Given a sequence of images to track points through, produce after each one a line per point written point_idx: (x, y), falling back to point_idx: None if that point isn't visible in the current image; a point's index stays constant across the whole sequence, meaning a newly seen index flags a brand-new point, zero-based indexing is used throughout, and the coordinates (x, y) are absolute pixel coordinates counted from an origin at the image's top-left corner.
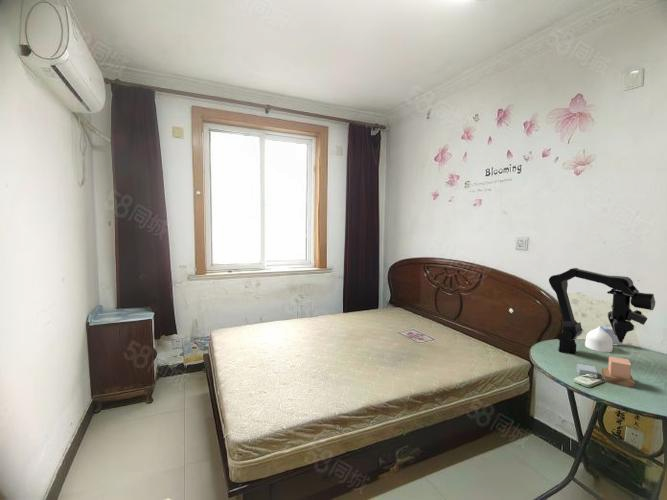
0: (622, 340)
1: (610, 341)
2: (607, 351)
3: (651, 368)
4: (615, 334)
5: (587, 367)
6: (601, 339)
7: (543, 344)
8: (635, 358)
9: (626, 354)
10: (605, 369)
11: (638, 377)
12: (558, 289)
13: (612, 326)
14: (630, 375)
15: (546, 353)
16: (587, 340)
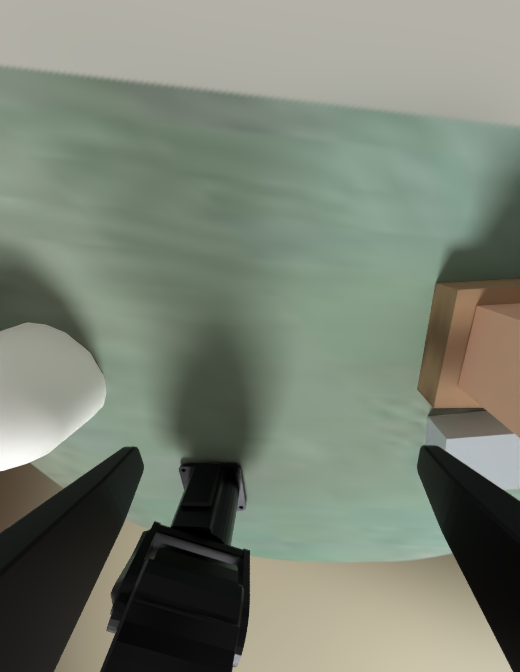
0: (466, 470)
1: (3, 363)
2: (81, 347)
3: (185, 148)
4: (138, 476)
5: (477, 462)
6: (34, 414)
7: None
8: (70, 223)
9: (40, 263)
10: (459, 396)
11: (395, 238)
12: None
13: (53, 658)
14: (507, 291)
15: (296, 535)
16: (58, 444)
